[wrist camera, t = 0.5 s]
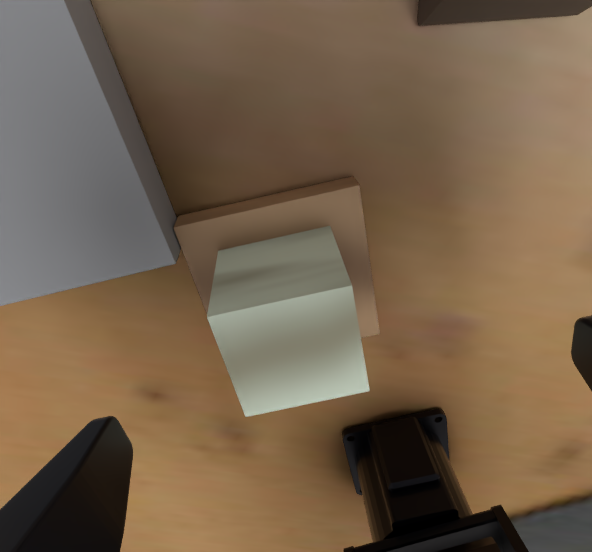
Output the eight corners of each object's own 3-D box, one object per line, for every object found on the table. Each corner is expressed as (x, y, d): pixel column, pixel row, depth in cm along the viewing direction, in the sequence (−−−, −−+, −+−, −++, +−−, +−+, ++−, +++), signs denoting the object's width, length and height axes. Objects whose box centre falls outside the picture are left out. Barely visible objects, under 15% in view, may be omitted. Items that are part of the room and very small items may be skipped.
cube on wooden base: (373, 316, 23) (410, 409, 18) (228, 348, 24) (220, 448, 18) (352, 174, 19) (391, 235, 14) (179, 214, 19) (147, 290, 14)
